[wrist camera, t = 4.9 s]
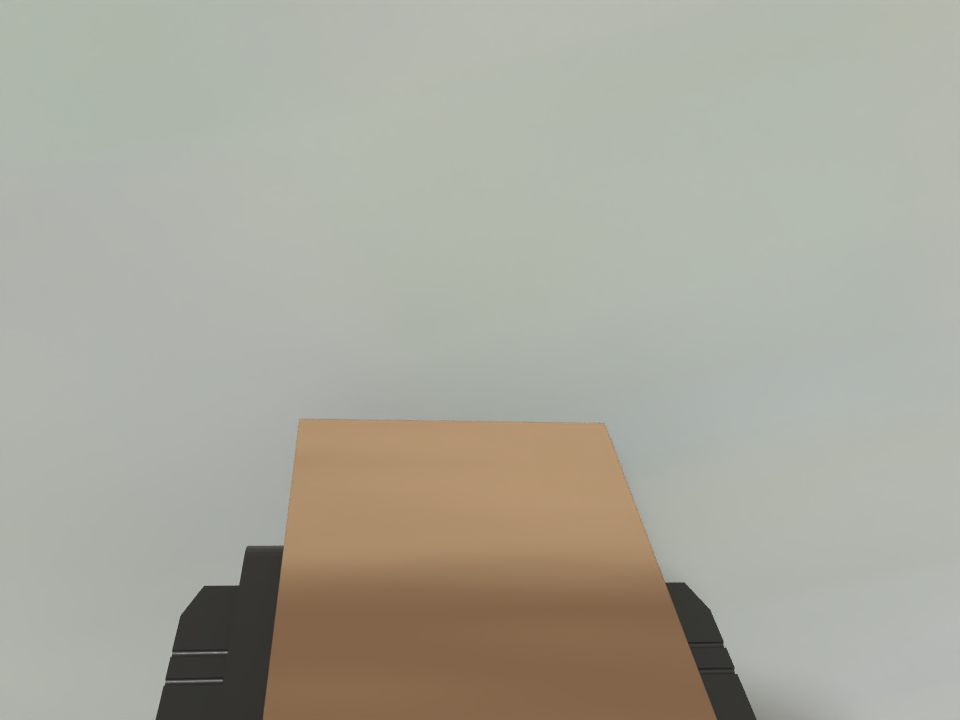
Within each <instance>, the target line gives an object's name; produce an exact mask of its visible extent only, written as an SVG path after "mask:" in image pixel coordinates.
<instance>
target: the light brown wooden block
mask: <svg viewBox="0 0 960 720" xmlns="http://www.w3.org/2000/svg"><path fill="white" fill-rule="evenodd" d="M263 720H717V718H716V716H715V713H714V711H713V708H712V705H711V703H710V700H709V697H708V695H707V692H706V689H705V687H704V684H703V682H702V679H701V676H700V674H699V671H698V668H697V666H696V663H695V660H694V658H693V655H692V653H691V650H690V647H689V645H688V642H687V639H686V637H685V634H684V631H683V629H682V626H681V624H680V621H679V618H678V616H677V613H676V610H675V608H674V605H673V602H672V600H671V597H670V595H669V592H668V589H667V587H666V584H665V581H664V579H663V576H662V573H661V571H660V568H659V566H658V563H657V560H656V558H655V555H654V552H653V550H652V547H651V544H650V542H649V539H648V537H647V534H646V531H645V529H644V526H643V523H642V521H641V518H640V515H639V513H638V510H637V508H636V505H635V502H634V500H633V497H632V494H631V492H630V489H629V486H628V484H627V481H626V479H625V476H624V473H623V471H622V468H621V465H620V463H619V460H618V457H617V455H616V452H615V450H614V447H613V444H612V442H611V439H610V436H609V434H608V431H607V428H606V426H605V423H557V422H485V421H412V420H340V419H299V426H298V435H297V443H296V451H295V459H294V467H293V476H292V484H291V492H290V500H289V508H288V517H287V525H286V533H285V541H284V550H283V558H282V566H281V574H280V582H279V591H278V599H277V607H276V615H275V623H274V632H273V640H272V648H271V656H270V664H269V673H268V681H267V689H266V697H265V706H264V714H263Z"/></svg>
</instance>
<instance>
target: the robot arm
mask: <svg viewBox="0 0 960 720" xmlns="http://www.w3.org/2000/svg"><path fill="white" fill-rule="evenodd" d="M283 550H284V546H247V548H246V551H245V556H244V562H243V567H242V573H241V579H240V585H239V586H204V587H203V588H202V589H201V591H200V592H199V593H198V594H197V596H196V597H195V598H194V599H193V601H192V602H191V603H190V605H189V606H188V607H187V608H186V610H185V611H184V612H183V613H182V615H181V616H180V620H179V625H178V629H177V633H176V637H175V641H174V645H173V650H172V657H171V658H170V662H169V666H168V670H167V675H166V683H165V686H164V687H163V691H162V696H161V700H160V704H159V708H158V712H157V716H156V720H263V714H264V706H265V697H266V689H267V681H268V673H269V664H270V656H271V648H272V640H273V632H274V623H275V615H276V607H277V599H278V591H279V582H280V574H281V566H282V558H283ZM665 584H666V587H667V589H668V592H669V595H670V597H671V600H672V602H673V605H674V608H675V610H676V613H677V616H678V618H679V621H680V624H681V626H682V629H683V631H684V634H685V637H686V639H687V642H688V645H689V647H690V650H691V653H692V655H693V658H694V660H695V663H696V666H697V668H698V671H699V674H700V676H701V679H702V682H703V684H704V687H705V689H706V692H707V695H708V697H709V700H710V703H711V705H712V708H713V711H714V713H715V716H716V718H717V720H756V717H755V715H754V713H753V710H752V708H751V705H750V703H749V701H748V698H747V696H746V694H745V691H744V689H743V686H742V684H741V682H740V679H739V677H738V675H737V674H735V672H734V665H733V663H732V660H731V658H730V656H729V653H728V651H727V649H726V648H724V646H723V642H724V641H723V639H722V637H721V634H720V632H719V630H718V627H717V625H716V622H715V620H714V618H713V615H712V613H711V611H710V609H709V608H708V607H707V606H706V605H705V604H704V603H703V602H702V601H701V600H700V599H699V598H698V597H697V595H696V594H695V593H694V592H693V591H692V590H691V589H690V588H689V587H688V586H687V585H686V584H685V583H665Z"/></svg>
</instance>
